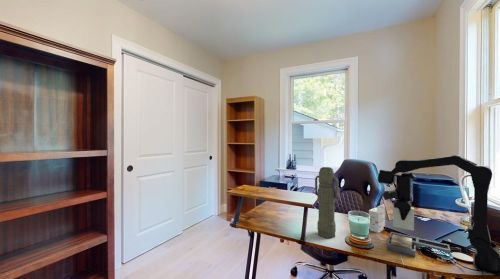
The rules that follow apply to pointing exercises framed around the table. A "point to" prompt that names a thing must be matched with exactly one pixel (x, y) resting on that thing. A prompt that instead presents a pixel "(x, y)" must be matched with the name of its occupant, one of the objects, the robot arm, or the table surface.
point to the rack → (416, 245)
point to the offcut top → (402, 239)
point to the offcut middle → (401, 244)
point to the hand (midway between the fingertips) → (403, 219)
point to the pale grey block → (404, 224)
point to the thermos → (326, 202)
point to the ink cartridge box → (377, 218)
